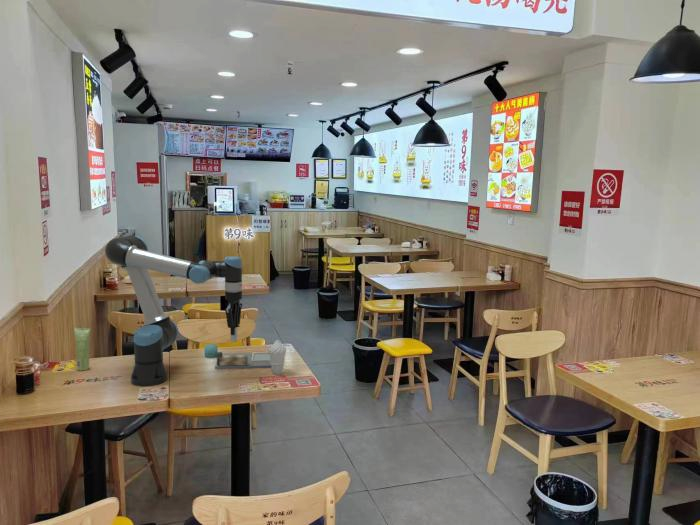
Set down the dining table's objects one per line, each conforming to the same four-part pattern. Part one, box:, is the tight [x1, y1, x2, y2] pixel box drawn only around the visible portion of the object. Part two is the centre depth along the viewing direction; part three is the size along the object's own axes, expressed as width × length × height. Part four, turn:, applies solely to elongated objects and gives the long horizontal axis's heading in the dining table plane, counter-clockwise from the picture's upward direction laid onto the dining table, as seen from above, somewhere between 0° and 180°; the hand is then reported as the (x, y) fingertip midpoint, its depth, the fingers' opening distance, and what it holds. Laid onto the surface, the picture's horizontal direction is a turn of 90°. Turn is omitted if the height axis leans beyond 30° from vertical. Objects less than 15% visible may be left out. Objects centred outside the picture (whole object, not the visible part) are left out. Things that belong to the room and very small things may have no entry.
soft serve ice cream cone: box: [267, 339, 287, 376], centre depth 240 cm, size 8×8×16 cm
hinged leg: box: [216, 351, 248, 366], centre depth 247 cm, size 14×3×6 cm, turn 99°
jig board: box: [214, 351, 272, 370], centre depth 256 cm, size 30×20×2 cm, turn 99°
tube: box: [73, 327, 91, 371], centre depth 239 cm, size 6×5×20 cm
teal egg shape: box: [204, 343, 219, 359], centre depth 263 cm, size 6×6×6 cm
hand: (234, 341), depth 238 cm, fingers closed
